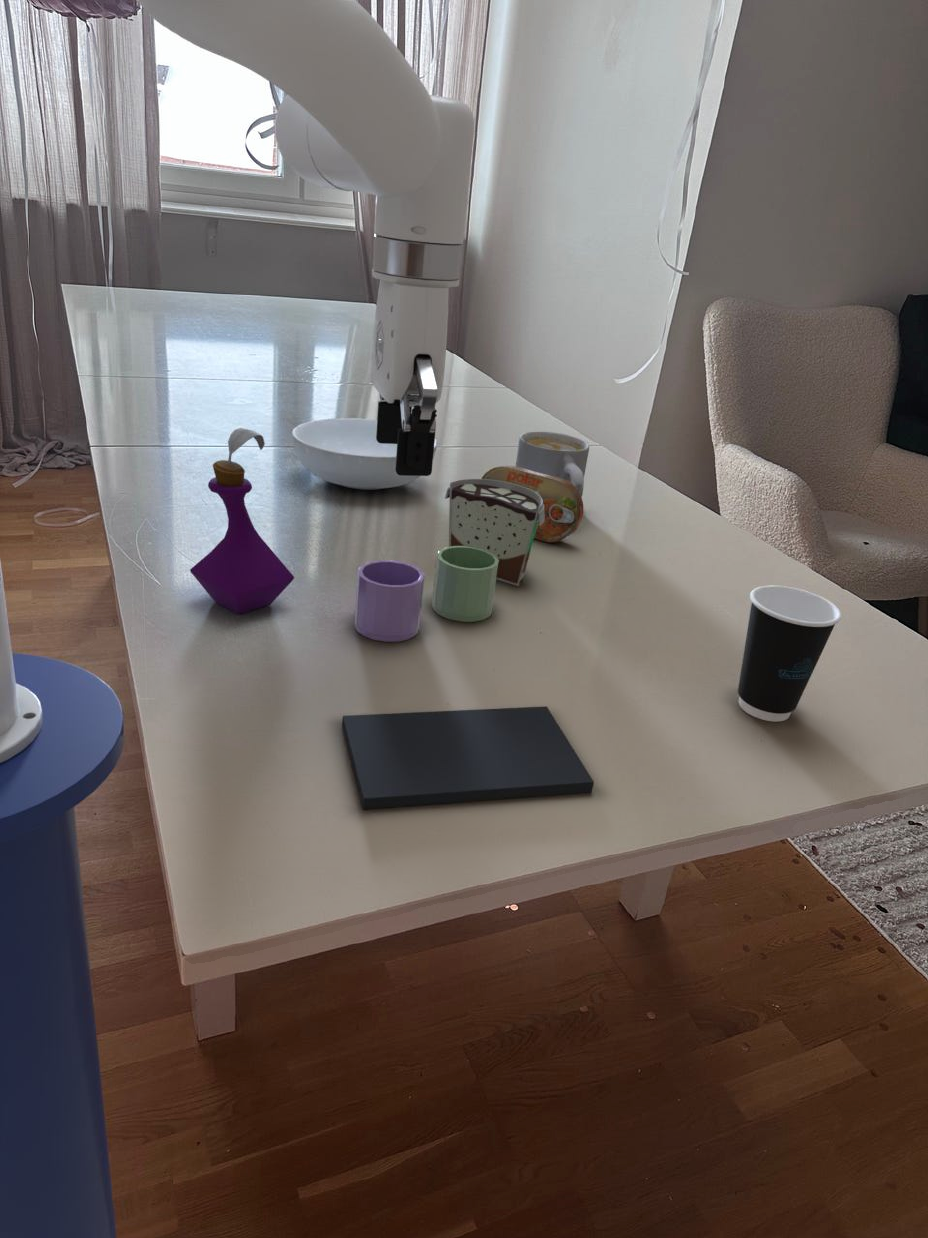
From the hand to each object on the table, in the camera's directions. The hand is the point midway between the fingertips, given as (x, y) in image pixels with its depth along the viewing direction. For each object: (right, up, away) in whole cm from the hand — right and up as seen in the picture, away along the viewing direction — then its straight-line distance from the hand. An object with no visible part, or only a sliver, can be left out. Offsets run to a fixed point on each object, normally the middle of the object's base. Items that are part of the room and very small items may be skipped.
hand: (402, 457), depth 84 cm
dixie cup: (+34, -24, +1) cm, 42 cm away
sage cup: (+5, -14, +13) cm, 20 cm away
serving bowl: (-9, +5, +49) cm, 50 cm away
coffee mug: (+18, 0, +46) cm, 49 cm away
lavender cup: (-2, -16, +7) cm, 18 cm away
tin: (+14, -3, +37) cm, 40 cm away
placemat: (+6, -26, -12) cm, 29 cm away
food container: (+9, -9, +25) cm, 28 cm away
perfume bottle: (-17, -14, +9) cm, 23 cm away
